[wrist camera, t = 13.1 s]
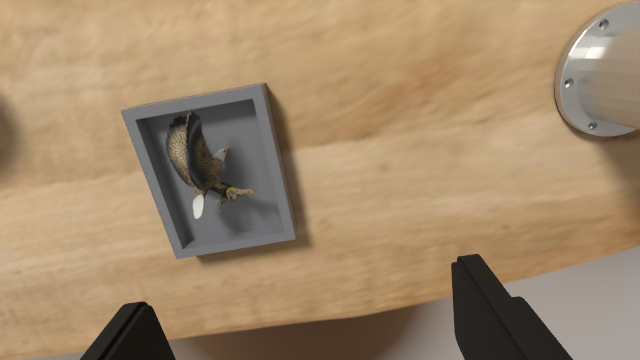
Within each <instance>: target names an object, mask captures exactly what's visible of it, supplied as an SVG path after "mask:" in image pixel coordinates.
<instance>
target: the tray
mask: <svg viewBox="0 0 640 360" xmlns="http://www.w3.org/2000/svg"><path fill="white" fill-rule="evenodd" d="M190 109H192V110H193V111H195V112H196V114H198V115H199V116H200V119H201V124H202V134H203V136H204V139H205V143H206V150H207V153H208V155H209V157H210V158H211V159H212V158H213V157H214V155H215V154H216V153H217V152H218V151H219V150H220V149H222V148H225V147H230V150H228V151H227V153H226V156H225V159H224V163H223V167H222V169H221V172H220V173H219V175H218V177H219V180H220V181H221V182H224V183H226V184H231V185H232V186H233V188H238V189H240V190H242V189H250V190H252V191H253V192H254V194H253V195H248V194H246V195H242V196H238V197H237V198H236V200H235V201H234V202H231V201H230V200H229V198H228V199H227V200H226V201H225V202H224V203H223V204H222V207H221V213H219V212H218V209H217V200H218V199H220V198H221V197H222V196H221V195H220V194H218V193H216V192H215V191H211V190H210V189H209V190H208V192H207V194H206V196H205V201H204V210H203V214H202V216H201V217H200V218H199V219H195V217H194V210H193V201H194V199H195V197H196V196H195V189H194V187H191V186H188V184H185V182H184V181H182V179H181V178H180V177H179V175H178V174H177V172H176V171H175V169H174V167H173V164H172V163H171V162H170V160H169V157H168V155H167V150H166V140H165V139H166V137H167V132H170V129H169V125H170V124H171V123H172V124H173V119H174V118H178V116H180V115H181V116H183V117H185V116H188V114H190ZM121 113H122V116H123V119H124V121H125V124H126V127H127V129H128V132H129V135H130V137H131V140H132V143H133V145H134V148H135V151H136V153H137V156H138V159H139V161H140V164H141V166H142V169H143V172H144V174H145V177H146V180H147V182H148V185H149V188H150V190H151V193H152V196H153V198H154V201H155V204H156V206H157V209H158V212H159V214H160V217H161V219H162V222H163V225H164V227H165V230H166V233H167V235H168V238H169V241H170V243H171V246H172V249H173V251H174V254H175V257H176V259H180V258H186V257H193V256H199V255H205V254H211V253H217V252H223V251H229V250H235V249H241V248H247V247H253V246H259V245H265V244H271V243H277V242H283V241H289V240H295V239H296V230H297V224H296V220H295V215H294V211H293V206H292V202H291V197H290V193H289V188H288V184H287V179H286V175H285V170H284V165H283V161H282V156H281V152H280V147H279V143H278V138H277V134H276V129H275V125H274V120H273V116H272V111H271V107H270V102H269V98H268V93H267V88H266V84H265V83H260V84H254V85H249V86H243V87H238V88H232V89H227V90H221V91H216V92H210V93H205V94H199V95H194V96H188V97H183V98H177V99H172V100H166V101H161V102H155V103H150V104H144V105H139V106H134V107H131V108H128V109H125V110H121Z"/></svg>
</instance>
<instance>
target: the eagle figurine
mask: <svg viewBox="0 0 640 360" xmlns="http://www.w3.org/2000/svg"><path fill="white" fill-rule="evenodd" d="M169 129H170V132H167V137H166V139H165V140H166V150H167V155H168V157H169V160H170V162H171V163H172V164H173V167H174V169H175V171H176V172H177V174H178V175H179V177H180V178H181V179H182V181H184V182H185V184H188V186H191V187H194V189H195V196H196V197H195V199H194V201H193V210H194V217H195V219H199V218H200V217H201V216H202V214H203V210H204V201H205V196H206V194H207V192H208V190H209V189H210V190H211V191H215V192H216V193H218V194H220V195H221V196H222V197H221V198H220V199H218V200H217V209H218V212H219V213H221V207H222V204H223V203H224V202H225V201H226V200H227V199H228V198H229V200H230V201H231V202H234V201H235V200H236V198H237V197H238V196H242V195H246V194H248V195H253V194H254V192H253V191H252V190H250V189H242V190H240V189H238V188H233V186H232V185H231V184H226V183H224V182H221V181H220V180H219V177H218V175H219V173H220V172H221V169H222V167H223V163H224V159H225V156H226V153H227V151H228V150H230V147H225V148H222V149H220V150H219V151H218V152H217V153H216V154H215V155H214V157H213V158H212V159H211V158H210V157H209V155H208V153H207V150H206V143H205V139H204V136H203V134H202V124H201V119H200V116H199V115H198V114H196V112H195V111H193V110H192V109H190V114H188V116H185V117H183V116H181V115H180V116H178V118H174V119H173V124H172V123H171V124H170V125H169Z"/></svg>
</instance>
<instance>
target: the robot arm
mask: <svg viewBox="0 0 640 360" xmlns="http://www.w3.org/2000/svg"><path fill="white" fill-rule="evenodd" d="M554 87H555V99H556V102H557V106H558V109H559V111H560V113H561V114H562V116H563V118H564V119H565V120H566V121H567V122H568V123H569V124H570V125H571V126H572V127H574V128H576V129H577V130H579V131H582V132H585V133H587V134H591V135H595V136H600V137H612V136H618V135H623V134H626V133H629V132H632V131H635V130H637V129H639V130H640V0H637V1H631V2H626V3H621V4H619V5H616V6H613V7H611V8H608V9H607V10H605V11H603V12H602V13H600V14H598V15H596V16H595V17H594V18H593V19H591V20H590V21H589V22H588V23H586V24H585V25H584V26H583V27H582V28H581V29H580V30H579V32H578V33H577V34H576V35H575V36H574V37H573V39H572V40H571V42H570V43H569V45H568V46H567V48H566V49H565V51H564V54H563V56H562V58H561V60H560V62H559V66H558V69H557V72H556V78H555V86H554ZM451 269H452V289H453V307H454V326H455V327H454V328H455V336H456V340H457V343H458V346H459V348H460V350H461V352H462V354H463V357H464V359H465V360H573V359H572V358H571V357H570V355H569V354H568V353H567V352H566V350H565V349H564V348H563V347H562V345H561V344H560V343H559V342H558V340H557V339H556V338H555V337H554V335H553V334H552V333H551V332H550V331H549V329H548V328H547V327H546V325H545V324H544V323H543V322H542V320H541V319H540V318H539V317H538V315H537V314H536V313H535V312H534V310H533V309H532V308H531V307H530V305H529V304H528V303H527V302H526V301H525V300H524V299H523V298H522V297H519V296H518V297H511V296H510V295H509V293H508V292H507V291H506V289H505V288H504V287H503V285H502V284H501V283H500V281H499V280H498V279H497V277H496V276H495V275H494V273H493V272H492V271H491V269H490V268H489V267H488V265H487V264H486V263H485V262H484V260H483V259H482V258H481V256H480V255H479V254H473V255H466V256H459V257H458V258H457V262H453V263H452V265H451ZM80 360H176V359H175V357H174V355H173V352H172V350H171V348H170V346H169V343H168V341H167V339H166V336H165V334H164V332H163V330H162V327H161V325H160V323H159V321H158V318H157V316H156V314H155V312H154V309H153V308H152V306H149V305H148V304H147V303H146V302H135V303H128V304H125V305H123V306H122V307H121V308H120V309H119V311H118V312H117V313H116V314H115V316H114V317H113V318H112V319H111V321H110V322H109V323H108V324H107V326H106V327H105V328H104V330H103V331H102V332H101V333H100V335H99V336H98V337H97V338H96V340H95V341H94V342H93V343H92V345H91V346H90V347H89V349H88V350H87V351H86V352H85V354H84V355H83V356H82V357H81V359H80Z"/></svg>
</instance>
